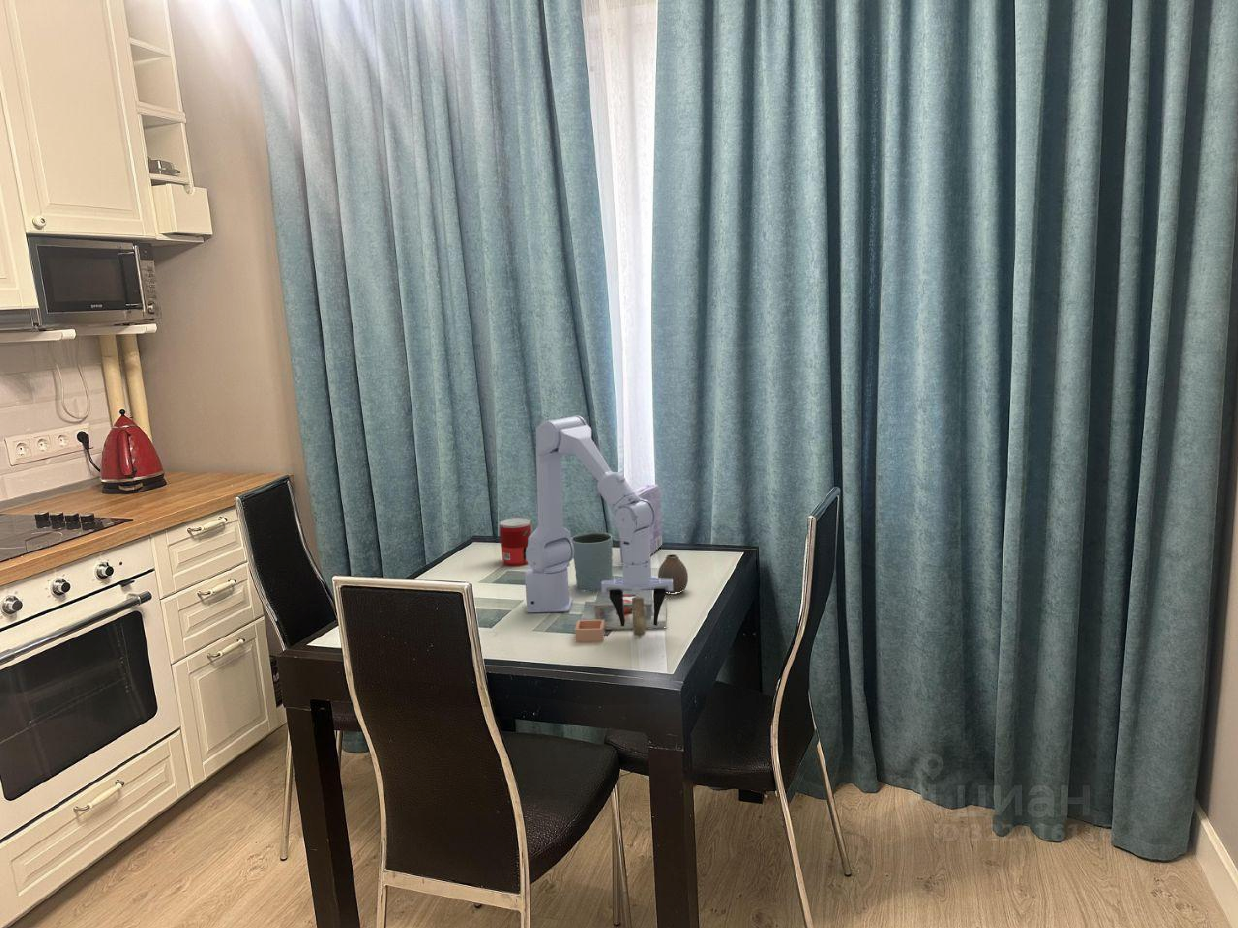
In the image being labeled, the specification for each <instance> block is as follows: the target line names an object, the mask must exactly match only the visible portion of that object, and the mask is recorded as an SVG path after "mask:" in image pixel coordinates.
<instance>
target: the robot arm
mask: <svg viewBox="0 0 1238 928" xmlns="http://www.w3.org/2000/svg"><path fill="white" fill-rule="evenodd" d="M535 444H536V445H535V464H536V466H535V467H536V470H535V471H536V495H537V497H536V499H537V527H536V528H535V529H534V531H532V532H531V535H530V536H529V538H528V547H527V551H526V559H527V562H528V564H527V565H528V566H529V567H530V568H527V569H526V571H525V593H526V594H525V595H526V613H550V612H551V613H552V612H555V613H556V612H569V611H570V609H571V606H572V603H573V597H570V593H569V575H568V574H569V573H568V567H570V562H571V561H572V560H574V559H573V556H574V547H573V544H572V541H571V538H572V534H571V531H570V530H568V528H566V527H564V526H563V525H564V522H563V487H562V486H563V485H562V483H563V482H562V458H563V457H564V456H565V455H566V454H567V455H568V454H569V455H574V456H575V457H577V459H579V461H580V462H582V464H583V465H584V466H585V468H587V470H588V472H590V473H591V475H592V476H593V477H594V478H595V479H596V481H597V485H596V486H597V487H596V489H597V491H598V492H599V495H601V497H602V498H603V499H604V501H605V502H606V504H607V505H608V506H609V508H610V509H611V511H612V512H613V513H614V515H615V516H613V522H614V523H613V524H614V525H615V527H616V529H617V532H618V539H619V538H620V540H621V544H622V563H621V564H622V566H621V567H622V578H618V579H617V578H616V579H615V578H614V579H613V580H606V581H602V583H601V587H602V593H606V592H607V591H610V596H609V597H610V600H611V601H612V603H613V605H614V607H615V609H616V611H617V613H618V616H619V619H620V624H621V626H624V624H625V617H624V609H623V600H624V597H623V591H642V590H652V600H653V602H654V621H653V622H654V626H657V620H658V614H659V611H660V608H661V605H662V603H663V600H665V599H666V595H667V594H666V590H668V591H673V579H662V578H658V577H652V570H651V569H652V567H651V565H652V564H651V556H650V536H649V526H651V525H652V524H653V522H654V520H655V513H654V509H653V507H652V506H651V503H650V502H649V501H647V500H645V499H642V498H641V497H640V496H636V494H635V493H634V490H633V488H632V487H631V486H630V485H629V483H628V482H627V480H626V478H625V477H624V475H622V474H621V473H620V472H617V471H612V469H611V467H609V465H608V463H607V461H606V460H605V458H604V457H603V456H602V455H603V454H601V452H600V450H599V448H598V447H597V446H596V444H595V442H594V441H593V439H592V428H591V427H590V426H589V425H588V423H587V421H586V420H585V418H584V417H582V416H581V415H579V414H578V415H576V414H575V415H572V416H568V417H562V418H556V419H551V420H544V421H542V422H541V423H540V424H539V425H538V426H537V427H536V428H535ZM620 540H619V541H620Z"/></svg>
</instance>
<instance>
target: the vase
mask: <svg viewBox="0 0 1238 928" xmlns="http://www.w3.org/2000/svg"><path fill="white" fill-rule="evenodd" d="M657 578H662V579H673V591H668V590H666V592H668V593H669V592H670V593H675V592H680V591H682V590H683V591H685V590H686V587H687V585H688V581H689V580H688V578H689V576H688V570H687V568H686V566H685V565H684V563H683V562H682V561H681V560H680V559H679V557H678V554H675V553H673V554H672V553H671V554H667V555H666V557H665V559H664V561H663V562H662V563H661V564H660V566H659V569H658V572H657ZM683 591H682V592H683Z"/></svg>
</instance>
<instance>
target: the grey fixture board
mask: <svg viewBox="0 0 1238 928" xmlns="http://www.w3.org/2000/svg"><path fill="white" fill-rule="evenodd" d="M609 596H610V591H607V592H606V593H602V590H598V591H597V593H596V598H595V601H585V603H584V606H583V609H582V612H581V613H582V614H581V617H580V620H605V631H607V630H608V631H611V630H612V631H613V630H633V607H632V600H630V602H629V603H623V607H631V613H630V614H624V617H625V624H624V626H621V624H620V619H619V616H618V613H617V611H616V609H615V607H614V605H613V603H612V601H611V600H610V597H609ZM634 597H643V598H644V613H645V630H647V629H646V628H660V629H665V628H664V627H666V628H667V620H666V617H667V616H668V615H667V613H668V612H667V611H668V610H667V608H668V606H667V599H664V600H663V603H662V605H661V608H660V611H659V614H658V620H657V626H654V622H653V621H654V602H653V590H642V591H623V598H634Z"/></svg>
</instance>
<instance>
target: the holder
mask: <svg viewBox="0 0 1238 928" xmlns="http://www.w3.org/2000/svg"><path fill="white" fill-rule="evenodd" d="M605 634H606V630H605V620H581V619H577V622H576V625H575V629H574V637H575V643H580V642H581V643H584V642H587V643H588V642H604V641H605V640H604V639H605Z"/></svg>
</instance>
